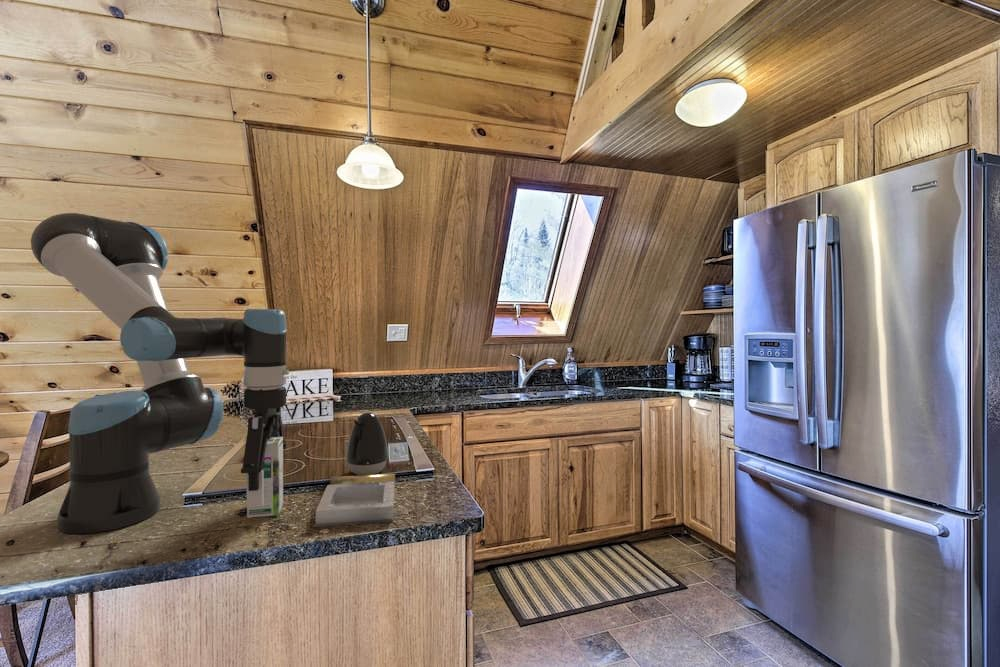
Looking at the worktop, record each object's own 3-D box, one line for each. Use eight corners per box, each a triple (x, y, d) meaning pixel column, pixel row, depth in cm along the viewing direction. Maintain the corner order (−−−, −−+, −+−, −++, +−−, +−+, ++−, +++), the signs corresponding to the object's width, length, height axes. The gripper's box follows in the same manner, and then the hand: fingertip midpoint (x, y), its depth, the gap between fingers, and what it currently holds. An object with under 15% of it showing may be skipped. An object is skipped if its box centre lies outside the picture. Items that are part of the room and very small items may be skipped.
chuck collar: (315, 527, 88) (315, 511, 88) (327, 498, 102) (327, 484, 102) (392, 521, 91) (393, 506, 91) (394, 494, 105) (394, 481, 105)
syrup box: (246, 519, 91) (245, 444, 91) (253, 507, 97) (253, 436, 96) (278, 516, 93) (278, 442, 92) (283, 504, 98) (283, 435, 98)
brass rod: (330, 492, 105) (330, 479, 105) (332, 487, 108) (332, 474, 108) (394, 489, 108) (394, 476, 108) (394, 484, 111) (395, 471, 111)
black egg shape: (336, 477, 115) (336, 415, 115) (361, 464, 125) (361, 407, 125) (373, 482, 113) (373, 418, 112) (395, 469, 122) (396, 410, 122)
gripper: (268, 397, 83) (268, 517, 83) (299, 378, 107) (299, 471, 108) (220, 397, 81) (221, 520, 82) (263, 378, 105) (263, 473, 106)
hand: (265, 493), depth 95 cm, fingers open, 13 cm apart
